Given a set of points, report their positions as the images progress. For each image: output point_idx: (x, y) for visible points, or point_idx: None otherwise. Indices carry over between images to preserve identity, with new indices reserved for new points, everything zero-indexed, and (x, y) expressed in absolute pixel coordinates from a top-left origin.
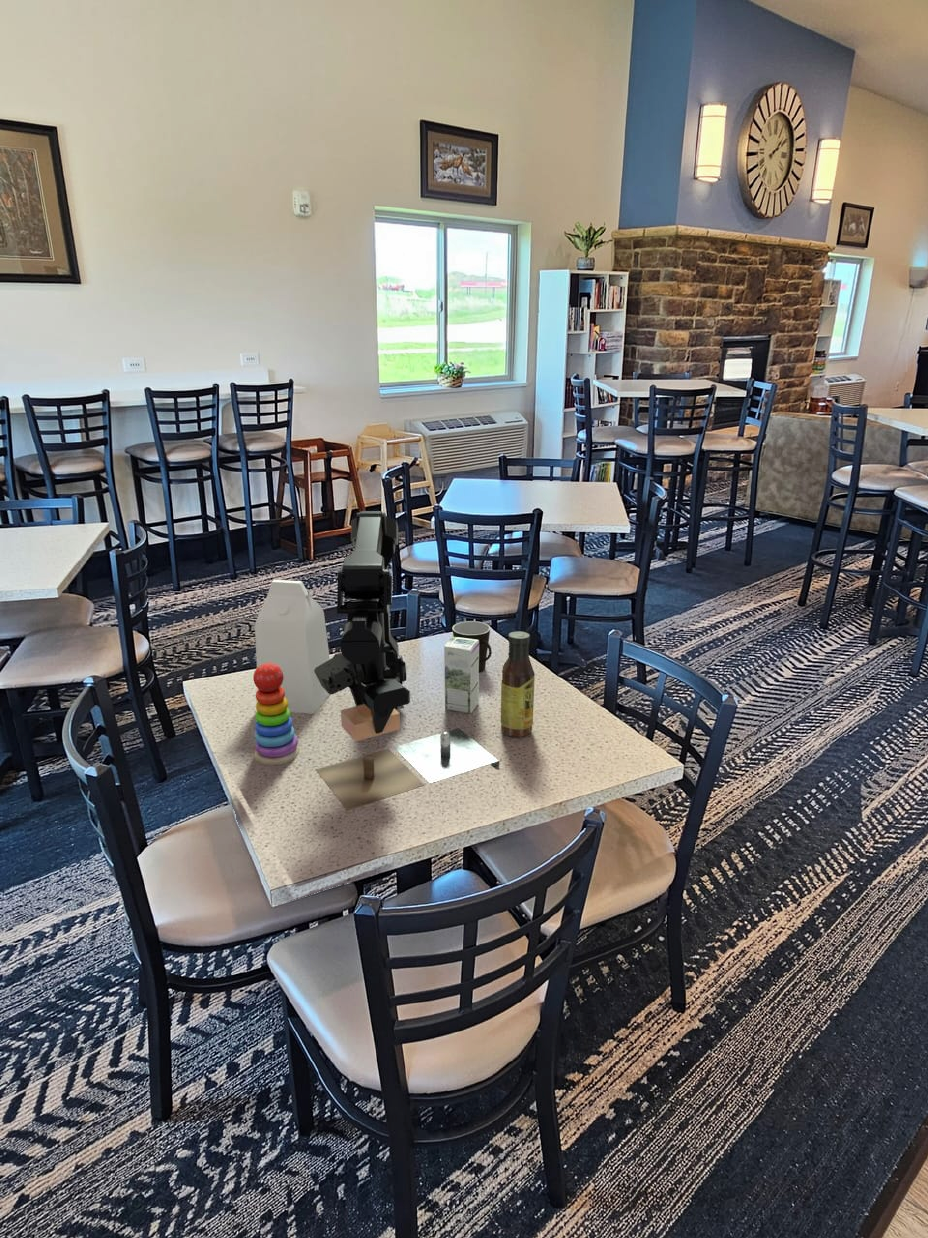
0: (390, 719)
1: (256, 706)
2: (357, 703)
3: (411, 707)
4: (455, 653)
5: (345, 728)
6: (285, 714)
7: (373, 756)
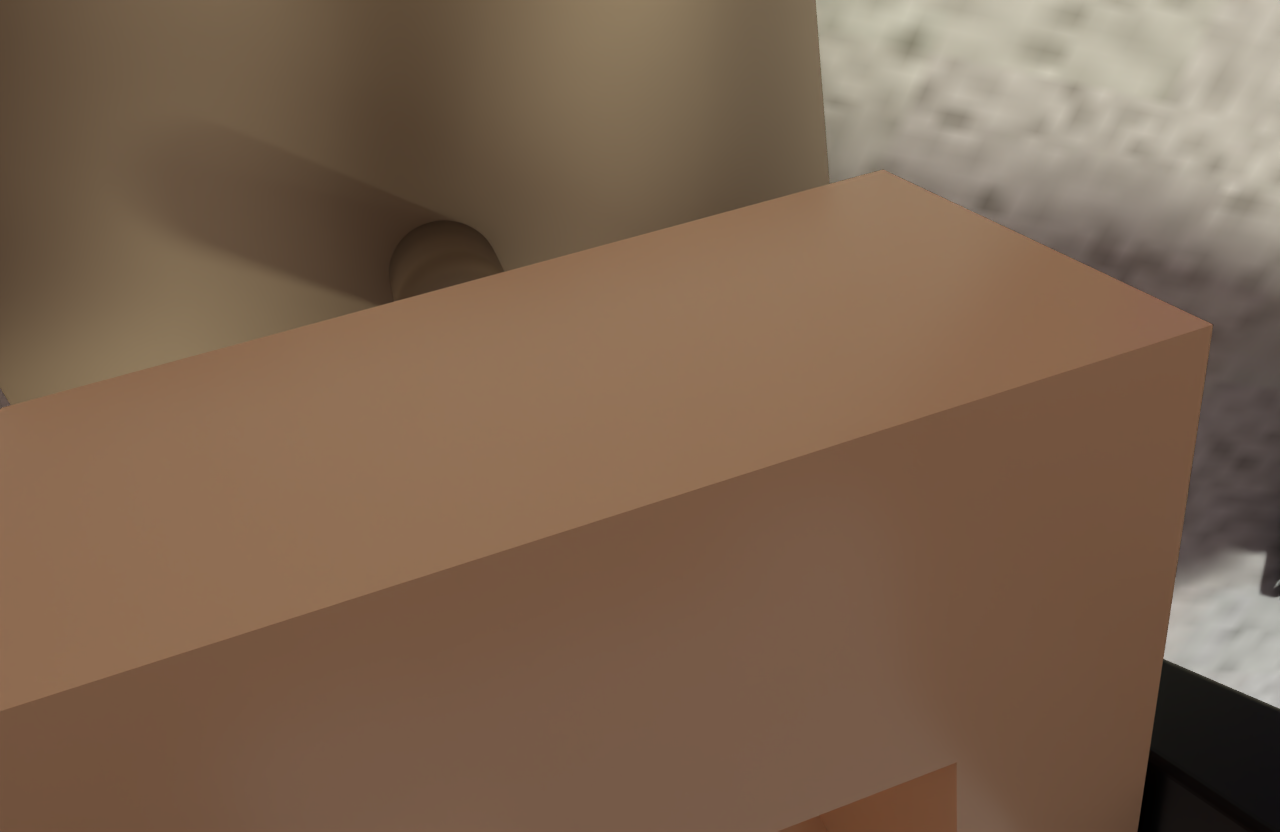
0: None
1: None
2: (1214, 811)
3: (1272, 639)
4: None
5: (670, 248)
6: None
7: None
